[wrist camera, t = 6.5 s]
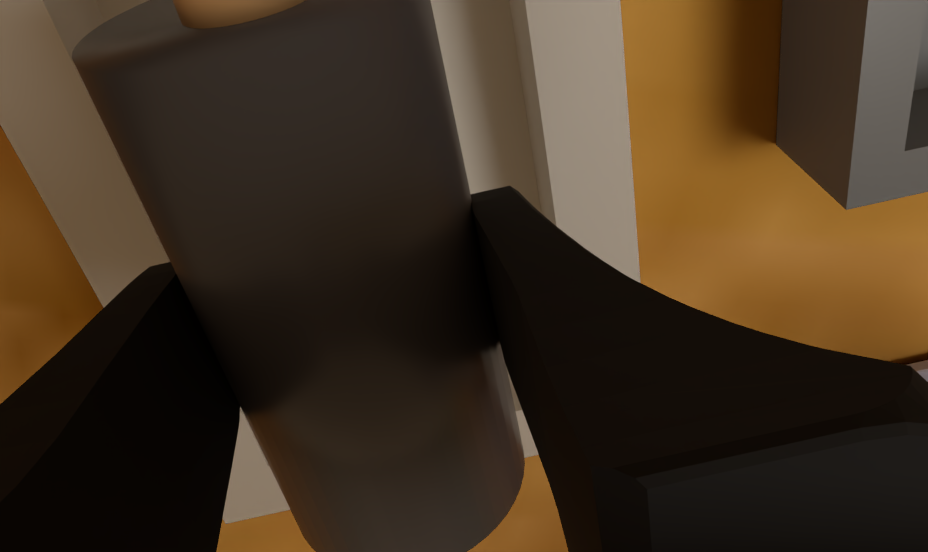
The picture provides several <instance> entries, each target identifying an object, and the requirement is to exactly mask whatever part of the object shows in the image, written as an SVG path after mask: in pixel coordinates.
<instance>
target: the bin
mask: <svg viewBox="0 0 928 552" xmlns="http://www.w3.org/2000/svg"><path fill="white" fill-rule="evenodd" d="M776 145H777V146H778V147H779V148H780V149H781V150H782V151H783V152H784V153H786V154H787V155H788V156H789V157H790V158H791V159H792V160H793V161H794V162H795V163H796V164H797V165H798V166H800V167H801V168H802V169H803V170H804V171H805V172H806V173H807V174H808V175H809V176H810V177H811V178H812V179H814V180H815V181H816V182H817V183H818V184H819V185H820V186H821V187H822V188H823V189H824V190H825V191H826V192H828V193H829V194H830V195H831V196H832V197H833V198H834V199H835V200H836V201H837V202H838V203H839V204H840V205H842V206H843V207H844V208H845V209H846V210H847V209H852V208H856V207H861V206H865V205H870V204H874V203H879V202H883V201H888V200H892V199H897V198H901V197H906V196H910V195H915V194H919V193H924V192H928V0H783V2H782V24H781V47H780V69H779V91H778V114H777V136H776Z"/></svg>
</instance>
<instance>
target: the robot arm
mask: <svg viewBox="0 0 928 552" xmlns="http://www.w3.org/2000/svg"><path fill="white" fill-rule="evenodd" d="M471 199H472V202H471V206H472V211H473V216H474V221H475V225H476V230H477V235H478V240H479V245H480V249H481V254H482V259H483V264H484V269H485V273H486V278H487V283H488V288H489V293H490V297H491V302H492V307H493V312H494V317H495V321H496V326H497V331H498V336H499V341H500V345H501V349H502V353H503V357H504V361H505V364H506V367H507V370H508V373H509V375H510V378H511V381H512V384H513V386H514V389H515V392H516V395H517V397H518V400H519V403H520V405H521V408H522V411H523V413H524V416H525V419H526V422H527V424H528V427H529V430H530V432H531V435H532V438H533V440H534V443H535V446H536V448H537V451H538V454H539V457H540V459H541V462H542V465H543V467H544V470H545V473H546V475H547V478H548V481H549V484H550V487H551V490H552V493H553V496H554V499H555V502H556V506H557V509H558V512H559V516H560V520H561V524H562V528H563V531H564V535H565V539H566V543H567V547H568V551H569V552H928V360H925V361H921V362H916V363H912V364H907V365H903V364H898V363H893V362H888V361H883V360H878V359H873V358H867V357H862V356H857V355H852V354H847V353H842V352H837V351H832V350H827V349H822V348H818V347H813V346H809V345H806V344H802V343H798V342H795V341H791V340H788V339H784V338H780V337H777V336H773V335H769V334H766V333H762V332H759V331H756V330H753V329H750V328H747V327H744V326H741V325H737V324H734V323H732V322H729V321H726V320H724V319H721V318H718V317H716V316H713V315H711V314H708V313H705V312H703V311H700V310H697V309H695V308H692V307H690V306H687V305H685V304H683V303H681V302H678V301H676V300H674V299H671V298H669V297H667V296H665V295H663V294H661V293H659V292H657V291H655V290H653V289H651V288H649V287H647V286H645V285H643V284H641V283H639V282H637V281H635V280H633V279H632V278H630V277H628V276H626V275H625V274H623V273H621V272H620V271H618V270H617V269H615V268H614V267H612V266H610V265H609V264H607V263H606V262H604V261H603V260H601V259H600V258H598V257H597V256H595V255H594V254H592V253H591V252H590V251H588V250H587V249H585V248H584V247H583V246H581V245H580V244H579V243H577V242H576V241H575V240H574V239H572V238H571V237H570V236H568V235H567V234H566V233H564V232H563V231H562V230H560V229H559V228H558V227H557V226H556V225H554V224H553V223H552V222H551V221H550V220H548V219H547V218H546V217H545V216H544V215H543V214H542V213H540V212H539V211H538V210H537V209H536V208H535V207H534V206H533V205H532V204H531V203H530V202H529V201H528V200H527V199H526V198H525V197H524V196H523V195H522V194H521V193H520V192H519V191H517V190H516V189H514V188H513V187H511V186H505V187H501V188H497V189H492V190H488V191H483V192H479V193H474V194H471ZM239 422H240V404H239V402H238V400H237V398H236V396H235V394H234V392H233V390H232V388H231V386H230V384H229V382H228V380H227V378H226V375H225V373H224V371H223V369H222V367H221V365H220V363H219V361H218V359H217V357H216V355H215V353H214V351H213V349H212V347H211V345H210V342H209V340H208V338H207V336H206V334H205V332H204V330H203V328H202V326H201V324H200V322H199V320H198V318H197V316H196V314H195V311H194V309H193V307H192V305H191V303H190V301H189V299H188V297H187V295H186V293H185V291H184V289H183V287H182V285H181V283H180V281H179V278H178V276H177V274H176V272H175V270H174V268H173V266H172V264H171V262H167V263H163V264H158V265H154V266H150V267H149V268H147V269H146V270H145V271H143V272H142V273H141V274H140V275H138V276H137V277H136V278H135V279H134V280H133V281H132V282H130V283H129V284H128V285H127V286H126V287H125V288H124V289H123V290H122V291H121V292H120V293H119V294H118V295H117V296H116V297H115V298H113V299H112V300H111V301H110V302H109V303H108V304H107V305H106V306H105V307H104V308H103V309H102V310H101V311H100V312H99V313H98V314H97V315H96V316H95V317H94V318H93V319H92V320H91V321H90V322H89V323H88V324H87V325H86V326H85V327H84V328H83V329H82V330H81V331H80V332H79V333H78V334H77V335H75V336H74V337H73V338H72V339H71V340H70V341H69V342H68V343H67V344H66V345H65V346H64V347H63V348H62V349H61V350H60V351H59V352H58V353H57V354H56V355H55V356H54V357H52V358H51V359H50V360H49V361H48V362H47V363H46V364H45V365H44V366H42V367H41V368H40V369H39V370H38V371H37V372H36V373H35V374H34V375H33V376H31V377H30V378H29V379H28V380H27V381H26V382H25V383H24V384H23V385H21V386H20V387H19V388H18V389H17V390H16V391H15V392H14V393H13V394H11V395H10V396H9V397H8V398H7V399H6V400H5V401H4V402H2V403H1V404H0V552H216V550H217V544H218V539H219V534H220V528H221V523H222V517H223V512H224V507H225V501H226V496H227V491H228V485H229V480H230V474H231V469H232V463H233V458H234V452H235V446H236V441H237V435H238V428H239Z"/></svg>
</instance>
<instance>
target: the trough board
mask: <svg viewBox="0 0 928 552" xmlns="http://www.w3.org/2000/svg"><path fill="white" fill-rule="evenodd" d="M146 1H149V0H0V125H1V127H2V129H3V131H4V132H5V134H6V136H7V138H8V139H9V141H10V143H11V145H12V146H13V148H14V150H15V152H16V154H17V155H18V157H19V159H20V161H21V162H22V164H23V166H24V168H25V169H26V171H27V173H28V175H29V177H30V178H31V180H32V182H33V184H34V185H35V187H36V189H37V191H38V192H39V194H40V196H41V198H42V200H43V201H44V203H45V205H46V207H47V208H48V210H49V212H50V214H51V215H52V217H53V219H54V221H55V223H56V224H57V226H58V228H59V230H60V231H61V233H62V235H63V237H64V239H65V240H66V242H67V244H68V246H69V247H70V249H71V251H72V253H73V254H74V256H75V258H76V260H77V262H78V263H79V265H80V267H81V269H82V270H83V272H84V274H85V276H86V277H87V279H88V281H89V283H90V285H91V286H92V288H93V290H94V292H95V293H96V295H97V297H98V299H99V300H100V302H101V304H102V306H103V308H104V307H105V306H106V305H107V304H108V303H109V302H110V301H111V300H112V299H113V298H115V297H116V296H117V295H118V294H119V293H120V292H121V291H122V290H123V289H124V288H125V287H126V286H127V285H128V284H129V283H130V282H132V281H133V280H134V279H135V278H136V277H137V276H138V275H140V274H141V273H142V272H143V271H145V270H146V269H147V268H149V267H150V266H154V265H158V264H163V263H167V262H170V260H169V258H168V256H167V254H166V252H165V250H164V247H163V245H162V243H161V241H160V239H159V237H158V235H157V233H156V231H155V229H154V227H153V225H152V223H151V221H150V219H149V217H148V214H147V212H146V210H145V208H144V206H143V204H142V202H141V200H140V198H139V196H138V194H137V192H136V190H135V188H134V186H133V183H132V181H131V179H130V177H129V175H128V173H127V171H126V169H125V167H124V165H123V163H122V161H121V159H120V157H119V155H118V153H117V150H116V148H115V146H114V144H113V142H112V140H111V138H110V136H109V134H108V132H107V130H106V128H105V126H104V124H103V122H102V119H101V117H100V115H99V113H98V111H97V109H96V107H95V105H94V103H93V101H92V99H91V97H90V95H89V93H88V91H87V89H86V86H85V84H84V82H83V80H82V78H81V76H80V74H79V72H78V70H77V68H76V66H75V64H74V62H73V60H72V52H73V50H74V48H75V46H76V45H77V44H78V43H79V42H80V41H81V39H82V38H84V37H85V36H86V35H87V34H88V33H90V32H91V31H92V30H94V29H95V28H97V27H98V26H100V25H101V24H103V23H105V22H106V21H108V20H110V19H112V18H113V17H115V16H117V15H119V14H121V13H123V12H125V11H127V10H129V9H131V8H133V7H135V6H137V5H140V4H142V3H144V2H146ZM430 1H431V6H432V10H433V15H434V20H435V25H436V30H437V35H438V39H439V44H440V49H441V54H442V59H443V64H444V68H445V73H446V78H447V83H448V88H449V92H450V97H451V102H452V107H453V112H454V117H455V121H456V126H457V131H458V136H459V141H460V146H461V150H462V155H463V160H464V165H465V170H466V175H467V179H468V184H469V189H470V194H474V193H479V192H483V191H488V190H492V189H497V188H501V187H505V186H511V187H513V188H514V189H516V190H517V191H519V192H520V193H521V194H522V195H523V196H524V197H525V198H526V199H527V200H528V201H529V202H530V203H531V204H532V205H533V206H534V207H535V208H536V209H537V210H538V211H539V212H540V213H542V214H543V215H544V216H545V217H546V218H547V219H548V220H550V221H551V222H552V223H553V224H554V225H556V226H557V227H558V228H559V229H560V230H562V231H563V232H564V233H566V234H567V235H568V236H570V237H571V238H572V239H574V240H575V241H576V242H577V243H579V244H580V245H581V246H583V247H584V248H585V249H587V250H588V251H590V252H591V253H592V254H594V255H595V256H597V257H598V258H600V259H601V260H603V261H604V262H606V263H607V264H609V265H610V266H612V267H614V268H615V269H617V270H618V271H620V272H621V273H623V274H625V275H626V276H628V277H630V278H632V279H633V280H635V281H637V282H639V283H640V270H639V256H638V242H637V228H636V214H635V200H634V186H633V172H632V158H631V144H630V130H629V116H628V102H627V88H626V74H625V60H624V46H623V32H622V18H621V4H620V0H430ZM506 368H507V367H506ZM507 372H508V370H507ZM508 377H509V382H510V387H511V392H512V397H513V401H514V406H515V411H516V416H517V421H518V426H519V430H520V435H521V440H522V445H523V450H524V458H526V457H530V456H535V455H539V454H538V451H537V448H536V446H535V443H534V440H533V438H532V435H531V432H530V430H529V427H528V424H527V422H526V419H525V416H524V413H523V411H522V408H521V405H520V403H519V400H518V397H517V395H516V392H515V389H514V386H513V384H512V381H511V378H510V375H509V373H508ZM287 510H290V508H289V506H288V503H287V501H286V499H285V497H284V495H283V493H282V491H281V489H280V487H279V485H278V483H277V481H276V479H275V477H274V475H273V472H272V470H271V468H270V466H269V464H268V462H267V460H266V458H265V456H264V454H263V452H262V450H261V448H260V446H259V444H258V442H257V439H256V437H255V435H254V433H253V431H252V429H251V427H250V425H249V423H248V421H247V419H246V417H245V415H244V413H243V411H242V408H241V406H240V422H239V428H238V435H237V441H236V446H235V452H234V458H233V463H232V469H231V474H230V480H229V485H228V491H227V496H226V501H225V507H224V512H223V517H222V518H223V520H224V522H225V523H226V524H228V523H232V522H237V521H241V520H246V519H250V518H255V517H259V516H264V515H268V514H273V513H277V512H282V511H287Z"/></svg>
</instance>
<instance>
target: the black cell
mask: <svg viewBox="0 0 928 552" xmlns="http://www.w3.org/2000/svg"><path fill="white" fill-rule="evenodd" d="M72 60H73V62H74V64H75V66H76V68H77V70H78V72H79V74H80V76H81V78H82V80H83V82H84V84H85V86H86V89H87V91H88V93H89V95H90V97H91V99H92V101H93V103H94V105H95V107H96V109H97V111H98V113H99V115H100V117H101V119H102V122H103V124H104V126H105V128H106V130H107V132H108V134H109V136H110V138H111V140H112V142H113V144H114V146H115V148H116V150H117V153H118V155H119V157H120V159H121V161H122V163H123V165H124V167H125V169H126V171H127V173H128V175H129V177H130V179H131V181H132V183H133V186H134V188H135V190H136V192H137V194H138V196H139V198H140V200H141V202H142V204H143V206H144V208H145V210H146V212H147V214H148V217H149V219H150V221H151V223H152V225H153V227H154V229H155V231H156V233H157V235H158V237H159V239H160V241H161V243H162V245H163V247H164V250H165V252H166V254H167V256H168V258H169V260H170V262H171V264H172V266H173V268H174V270H175V272H176V274H177V276H178V278H179V281H180V283H181V285H182V287H183V289H184V291H185V293H186V295H187V297H188V299H189V301H190V303H191V305H192V307H193V309H194V311H195V314H196V316H197V318H198V320H199V322H200V324H201V326H202V328H203V330H204V332H205V334H206V336H207V338H208V340H209V342H210V345H211V347H212V349H213V351H214V353H215V355H216V357H217V359H218V361H219V363H220V365H221V367H222V369H223V371H224V373H225V375H226V378H227V380H228V382H229V384H230V386H231V388H232V390H233V392H234V394H235V396H236V398H237V400H238V402H239V404H240V406H241V408H242V411H243V413H244V415H245V417H246V419H247V421H248V423H249V425H250V427H251V429H252V431H253V433H254V435H255V437H256V439H257V442H258V444H259V446H260V448H261V450H262V452H263V454H264V456H265V458H266V460H267V462H268V464H269V466H270V468H271V470H272V472H273V475H274V477H275V479H276V481H277V483H278V485H279V487H280V489H281V491H282V493H283V495H284V497H285V499H286V501H287V503H288V506H289V508H290V510H291V512H292V514H293V516H294V518H295V520H296V522H297V524H298V526H299V528H300V530H301V532H302V534H303V536H304V538H305V539H306V541H307V542H308V543H309V545H310V546H311V547H312V548H313V549H314V550H315V551H316V552H467V551H468V550H470V549H472V548H473V547H474V546H476V545H477V544H478V543H480V542H481V541H482V540H483V539H485V538H486V537H487V536H488V535H489V534H490V533H491V532H492V531H493V530H494V529H495V528H496V527H497V526H498V525H499V524H500V522H501V521H502V520H503V519H504V517H505V516H506V515H507V513H508V512H509V510H510V508H511V507H512V505H513V503H514V502H515V500H516V497H517V495H518V493H519V490H520V487H521V484H522V480H523V476H524V466H525V460H524V450H523V445H522V440H521V435H520V430H519V426H518V421H517V416H516V411H515V406H514V401H513V397H512V392H511V387H510V382H509V377H508V372H507V368H506V364H505V361H504V357H503V353H502V349H501V345H500V341H499V336H498V331H497V326H496V321H495V317H494V312H493V307H492V302H491V297H490V293H489V288H488V283H487V278H486V273H485V269H484V264H483V259H482V254H481V249H480V245H479V240H478V235H477V230H476V225H475V221H474V216H473V211H472V206H471V202H472V199H471V194H470V189H469V184H468V179H467V175H466V170H465V165H464V160H463V155H462V150H461V146H460V141H459V136H458V131H457V126H456V121H455V117H454V112H453V107H452V102H451V97H450V92H449V88H448V83H447V78H446V73H445V68H444V64H443V59H442V54H441V49H440V44H439V39H438V35H437V30H436V25H435V20H434V15H433V10H432V6H431V1H430V0H149V1H146V2H144V3H142V4H140V5H137V6H135V7H133V8H131V9H129V10H127V11H125V12H123V13H121V14H119V15H117V16H115V17H113V18H112V19H110V20H108V21H106V22H105V23H103V24H101V25H100V26H98V27H97V28H95V29H94V30H92V31H91V32H90V33H88V34H87V35H86V36H85V37H84V38H82V39H81V41H80V42H79V43H78V44H77V45H76V46H75V48H74V50H73V52H72Z"/></svg>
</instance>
